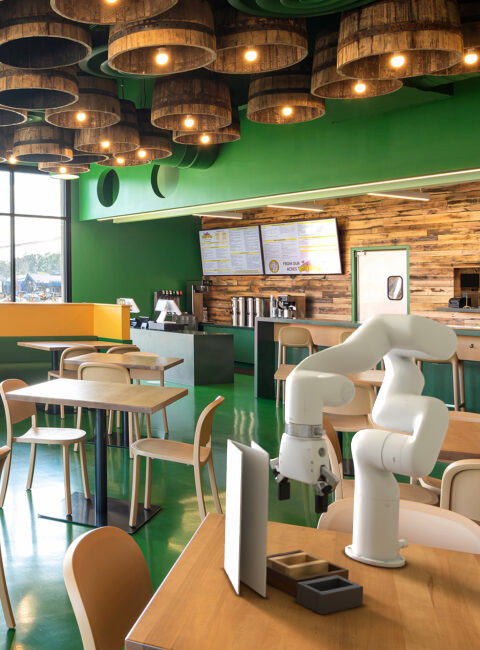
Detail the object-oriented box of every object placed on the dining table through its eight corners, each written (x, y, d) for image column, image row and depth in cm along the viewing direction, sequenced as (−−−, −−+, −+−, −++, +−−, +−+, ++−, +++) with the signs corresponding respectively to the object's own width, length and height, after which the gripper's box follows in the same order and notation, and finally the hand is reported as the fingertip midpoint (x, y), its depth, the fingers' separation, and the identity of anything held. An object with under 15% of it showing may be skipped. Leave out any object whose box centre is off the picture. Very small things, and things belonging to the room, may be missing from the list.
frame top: (304, 568, 154) (305, 551, 154) (327, 579, 149) (328, 561, 148) (266, 576, 149) (267, 558, 149) (289, 586, 144) (289, 568, 144)
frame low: (336, 593, 142) (336, 574, 142) (362, 605, 137) (363, 586, 137) (296, 602, 138) (296, 582, 138) (321, 614, 132) (322, 594, 132)
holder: (299, 564, 158) (299, 549, 158) (348, 586, 146) (348, 569, 146) (248, 574, 152) (249, 558, 152) (296, 597, 140) (296, 580, 140)
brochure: (265, 597, 139) (269, 454, 139) (237, 594, 140) (241, 452, 140) (249, 570, 153) (252, 440, 153) (224, 568, 154) (227, 439, 154)
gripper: (350, 436, 142) (349, 515, 143) (283, 422, 158) (282, 493, 159) (326, 439, 139) (324, 520, 140) (260, 424, 155) (258, 497, 156)
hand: (302, 505), depth 149 cm, fingers open, 9 cm apart
